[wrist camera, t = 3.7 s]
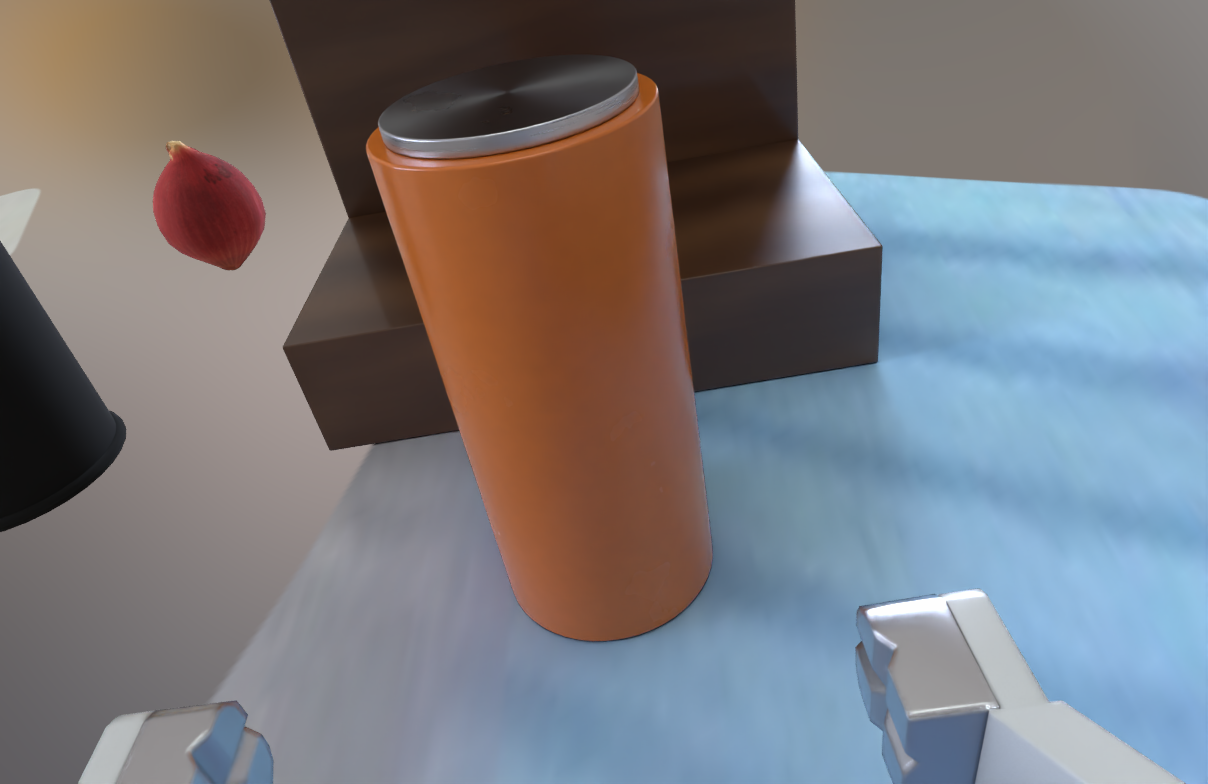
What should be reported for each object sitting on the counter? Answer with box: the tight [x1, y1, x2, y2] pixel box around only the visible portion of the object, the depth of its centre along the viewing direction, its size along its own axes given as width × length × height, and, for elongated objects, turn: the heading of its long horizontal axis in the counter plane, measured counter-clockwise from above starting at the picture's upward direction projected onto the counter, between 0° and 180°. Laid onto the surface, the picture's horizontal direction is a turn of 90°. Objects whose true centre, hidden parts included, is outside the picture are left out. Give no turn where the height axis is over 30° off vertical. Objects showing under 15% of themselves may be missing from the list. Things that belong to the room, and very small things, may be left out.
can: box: [366, 55, 713, 641], centre depth 22 cm, size 6×6×14 cm
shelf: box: [270, 0, 882, 450], centre depth 31 cm, size 13×22×24 cm, turn 93°
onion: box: [153, 141, 266, 270], centre depth 48 cm, size 6×6×8 cm
